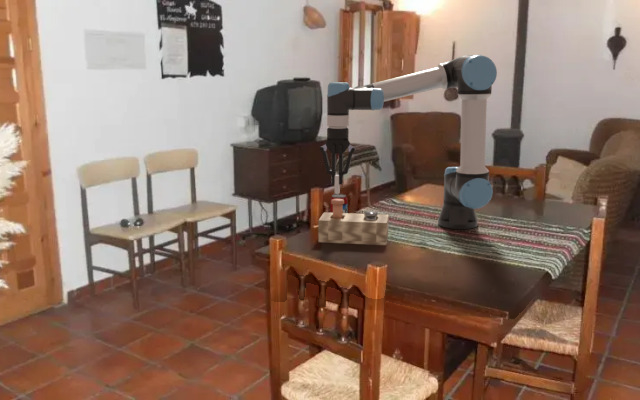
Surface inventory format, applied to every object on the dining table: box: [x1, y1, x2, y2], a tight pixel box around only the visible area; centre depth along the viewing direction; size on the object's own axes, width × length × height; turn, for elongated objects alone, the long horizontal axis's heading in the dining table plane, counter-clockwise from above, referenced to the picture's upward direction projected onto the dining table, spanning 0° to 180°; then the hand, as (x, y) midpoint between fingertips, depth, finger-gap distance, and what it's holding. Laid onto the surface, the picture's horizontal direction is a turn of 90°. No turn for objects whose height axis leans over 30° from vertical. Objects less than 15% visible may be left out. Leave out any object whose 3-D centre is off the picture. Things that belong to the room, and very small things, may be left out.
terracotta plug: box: [331, 199, 344, 219], centre depth 218 cm, size 5×5×8 cm
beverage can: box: [329, 193, 349, 213], centre depth 236 cm, size 7×7×12 cm
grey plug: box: [363, 210, 378, 220], centre depth 217 cm, size 5×5×8 cm
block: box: [317, 211, 390, 246], centre depth 218 cm, size 24×12×8 cm, turn 80°
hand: (337, 193), depth 216 cm, fingers closed
